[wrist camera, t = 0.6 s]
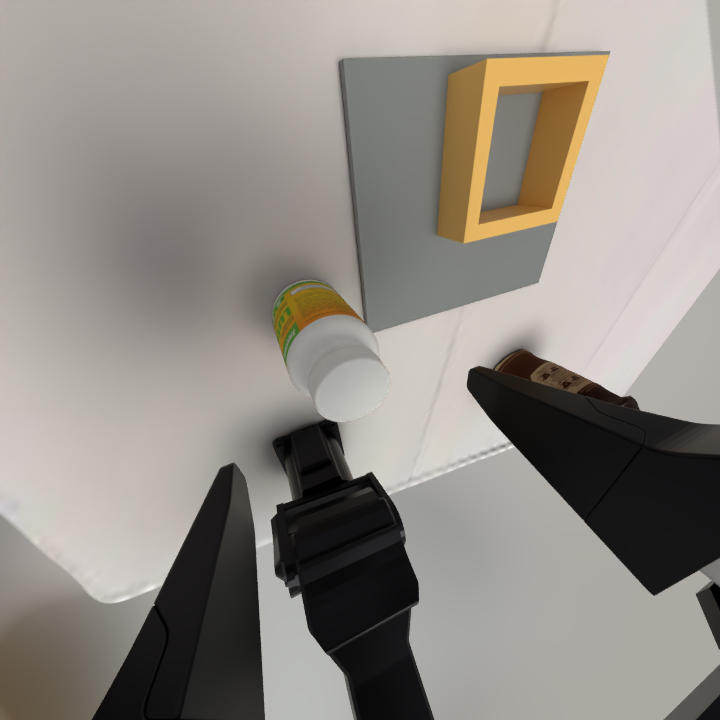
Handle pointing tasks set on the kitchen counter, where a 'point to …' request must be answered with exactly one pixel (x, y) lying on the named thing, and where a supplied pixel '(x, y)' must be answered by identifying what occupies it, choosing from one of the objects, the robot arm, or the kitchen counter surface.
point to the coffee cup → (559, 378)
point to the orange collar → (548, 148)
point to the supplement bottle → (329, 351)
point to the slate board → (431, 189)
